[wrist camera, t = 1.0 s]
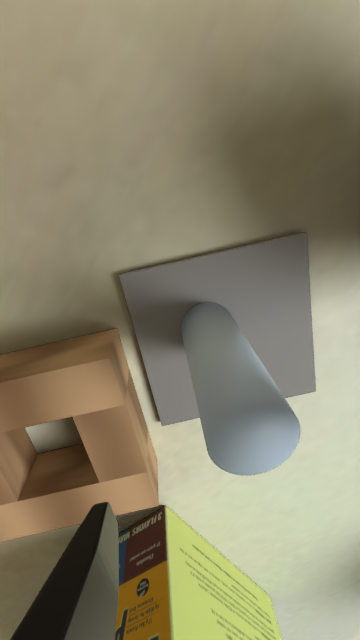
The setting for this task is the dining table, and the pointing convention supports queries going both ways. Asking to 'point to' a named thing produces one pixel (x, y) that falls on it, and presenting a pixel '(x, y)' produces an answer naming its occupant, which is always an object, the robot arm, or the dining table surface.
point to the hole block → (93, 426)
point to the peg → (236, 395)
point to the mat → (244, 306)
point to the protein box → (185, 588)
